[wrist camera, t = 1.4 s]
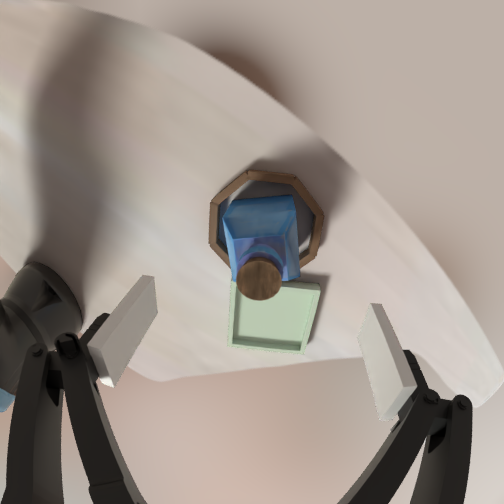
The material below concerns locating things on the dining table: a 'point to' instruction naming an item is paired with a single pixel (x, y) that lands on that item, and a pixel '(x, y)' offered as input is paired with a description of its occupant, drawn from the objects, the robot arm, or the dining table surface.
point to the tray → (273, 318)
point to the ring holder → (269, 177)
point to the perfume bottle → (262, 244)
